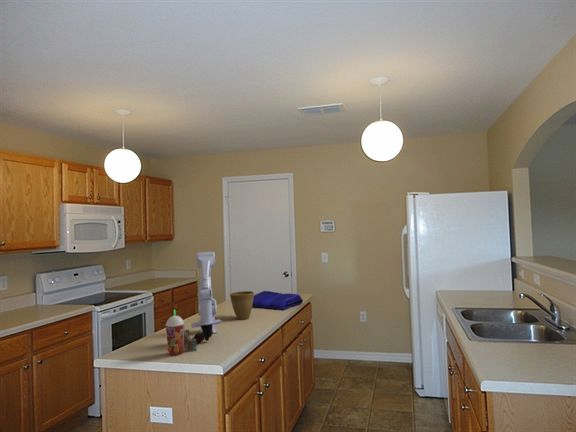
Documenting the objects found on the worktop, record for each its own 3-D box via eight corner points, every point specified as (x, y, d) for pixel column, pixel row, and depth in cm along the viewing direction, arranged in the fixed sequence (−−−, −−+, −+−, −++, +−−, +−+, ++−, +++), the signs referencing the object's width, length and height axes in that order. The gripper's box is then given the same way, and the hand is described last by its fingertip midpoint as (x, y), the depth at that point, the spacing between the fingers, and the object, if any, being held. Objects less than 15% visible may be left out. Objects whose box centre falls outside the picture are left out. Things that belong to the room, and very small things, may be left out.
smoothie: (187, 350, 187) (185, 307, 187) (183, 356, 179) (181, 311, 179) (169, 351, 187) (167, 308, 187) (164, 357, 178) (162, 312, 179)
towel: (285, 311, 267) (284, 298, 267) (242, 307, 286) (242, 295, 286) (304, 304, 289) (303, 291, 290) (263, 301, 308) (263, 289, 308)
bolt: (193, 348, 196) (207, 339, 211) (200, 343, 195) (214, 334, 209) (187, 338, 197) (202, 329, 211) (194, 333, 196) (209, 324, 210)
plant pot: (256, 315, 255) (255, 290, 256) (252, 321, 241) (251, 294, 241) (233, 316, 257) (233, 291, 257) (228, 321, 242) (227, 295, 243)
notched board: (183, 339, 205) (182, 330, 205) (189, 339, 206) (188, 329, 207) (189, 351, 185) (189, 340, 185) (196, 350, 186) (196, 339, 186)
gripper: (192, 316, 193) (193, 344, 193) (222, 312, 199) (223, 340, 198) (190, 313, 200) (191, 340, 199) (219, 310, 205) (220, 336, 205)
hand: (207, 340), depth 199 cm, fingers closed
